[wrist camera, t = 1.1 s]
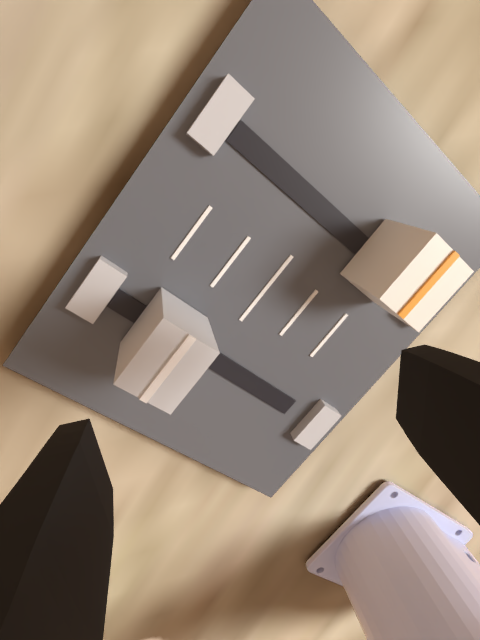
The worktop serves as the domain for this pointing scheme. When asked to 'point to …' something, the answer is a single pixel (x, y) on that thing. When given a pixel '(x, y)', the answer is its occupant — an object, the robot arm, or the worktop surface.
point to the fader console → (257, 248)
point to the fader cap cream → (407, 272)
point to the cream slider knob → (165, 352)
